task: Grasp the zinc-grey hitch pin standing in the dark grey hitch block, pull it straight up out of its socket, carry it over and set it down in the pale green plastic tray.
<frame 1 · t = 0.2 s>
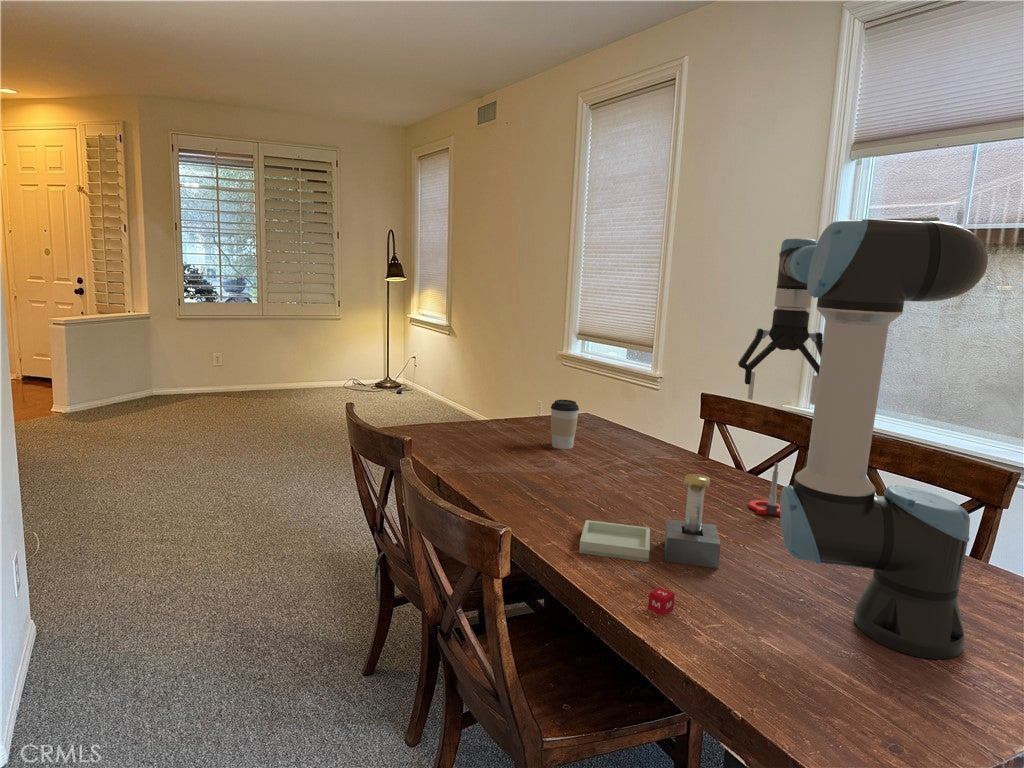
hand: (780, 401, 150), 28 cm above the table, fingers open, 13 cm apart
hitch block: (689, 554, 131), on the table
tray: (615, 545, 133), on the table
hitch pin: (693, 516, 129), in the hitch block
tow hook: (766, 510, 159), on the table
dice: (660, 610, 109), on the table
coffee cup: (562, 446, 208), on the table
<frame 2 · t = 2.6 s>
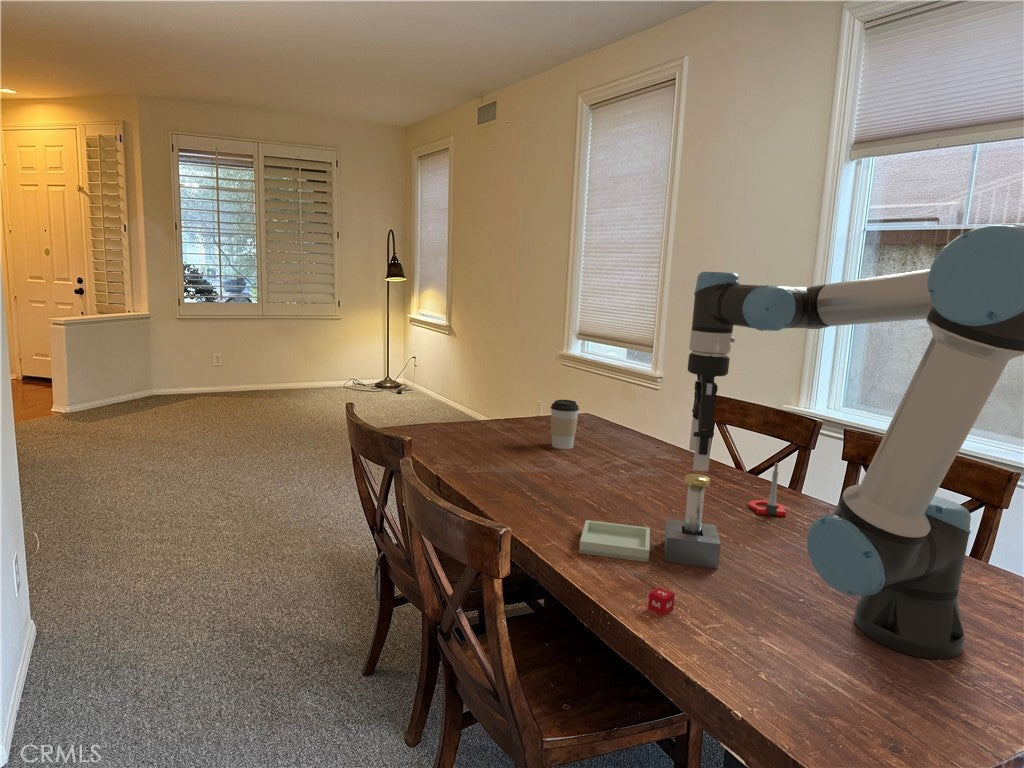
hand: (698, 460, 128), 20 cm above the table, fingers open, 13 cm apart
nothing on the table moved.
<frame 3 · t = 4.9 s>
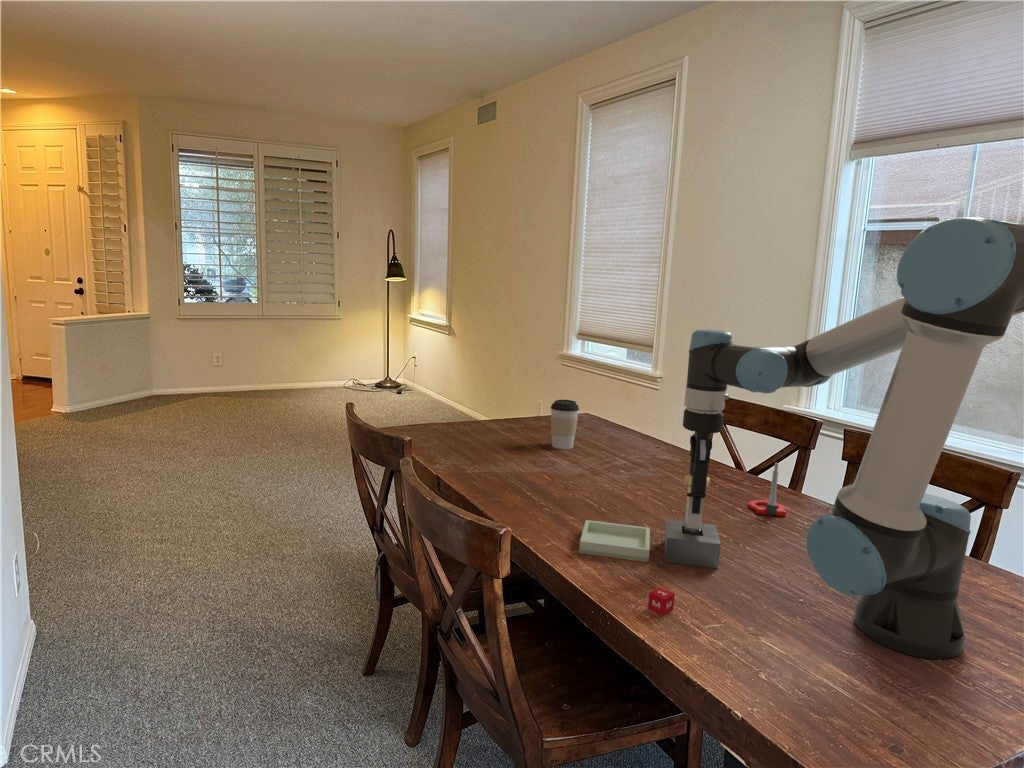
hand: (692, 523, 130), 7 cm above the table, fingers closed on hitch pin, 3 cm apart
hitch pin: (693, 516, 129), in the hitch block, touching gripper
everything else where it was.
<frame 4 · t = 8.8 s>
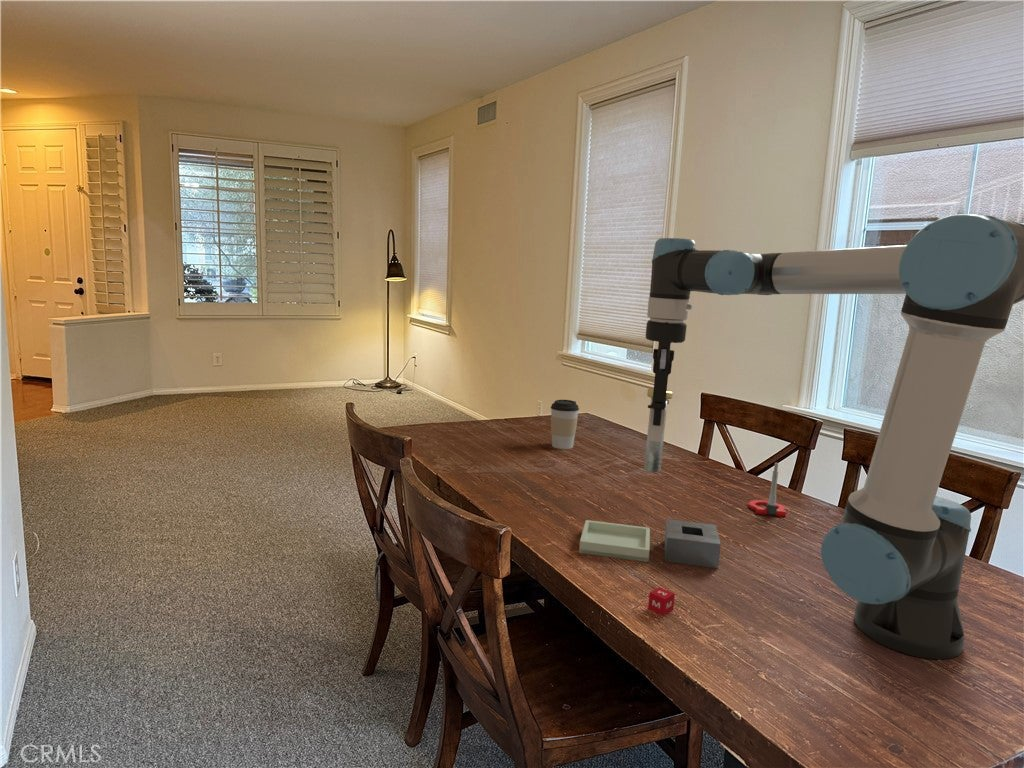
hand: (655, 437, 129), 23 cm above the table, fingers closed on hitch pin, 3 cm apart
hitch pin: (656, 430, 129), point 25 cm above the table, touching gripper
everything else where it was.
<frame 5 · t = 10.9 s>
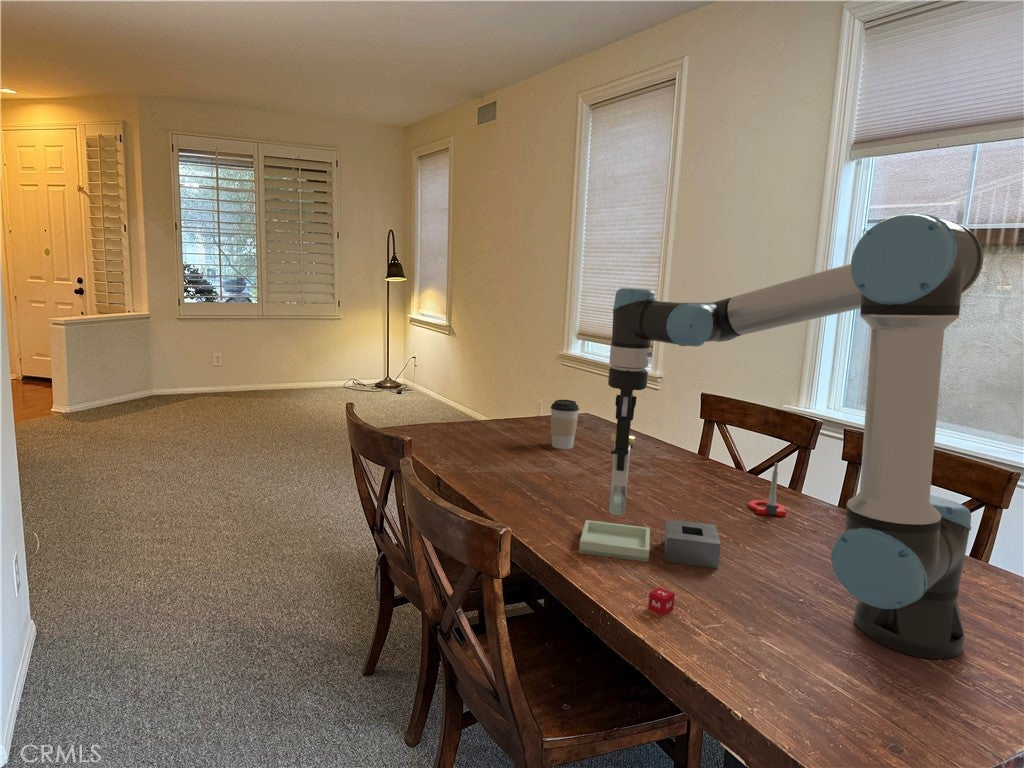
hand: (619, 481, 131), 14 cm above the table, fingers closed on hitch pin, 3 cm apart
hitch pin: (620, 474, 131), point 15 cm above the table, touching gripper
everything else where it was.
when the fingers open (8 cm above the table, at t = 12.6 s): hitch pin stays where it is, resting on tray.
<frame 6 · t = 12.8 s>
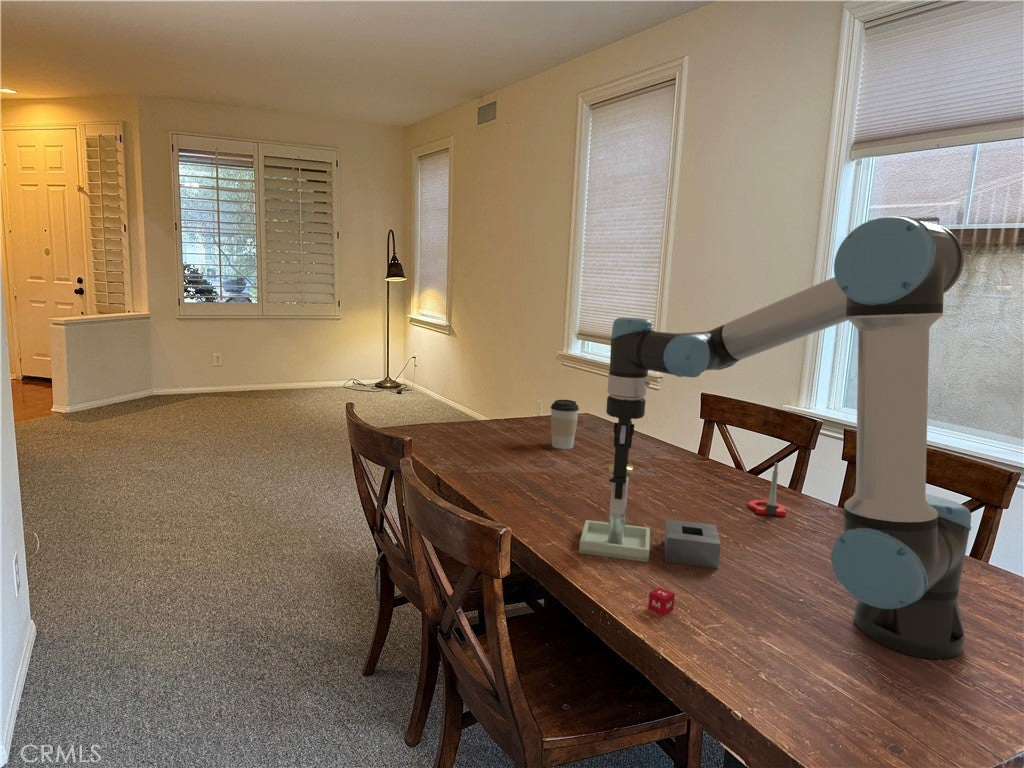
hand: (618, 507, 132), 8 cm above the table, fingers open, 6 cm apart
hitch pin: (618, 504, 132), in the tray, point 9 cm above the table
everything else where it was.
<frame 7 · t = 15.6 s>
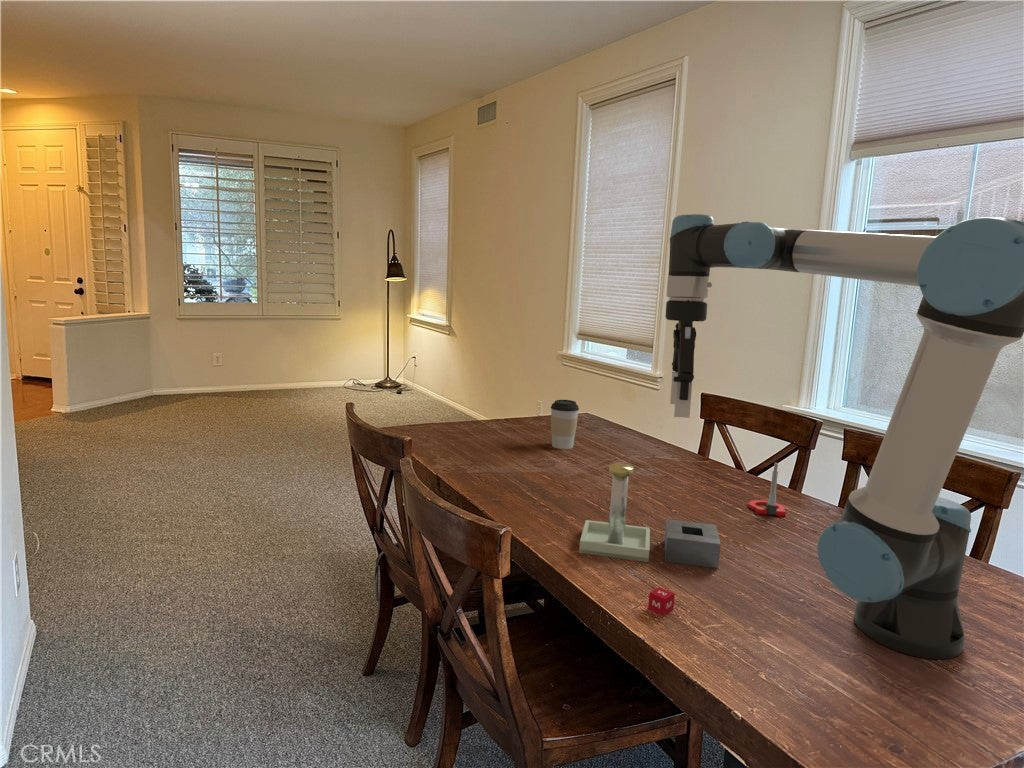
hand: (679, 410, 125), 30 cm above the table, fingers open, 13 cm apart
nothing on the table moved.
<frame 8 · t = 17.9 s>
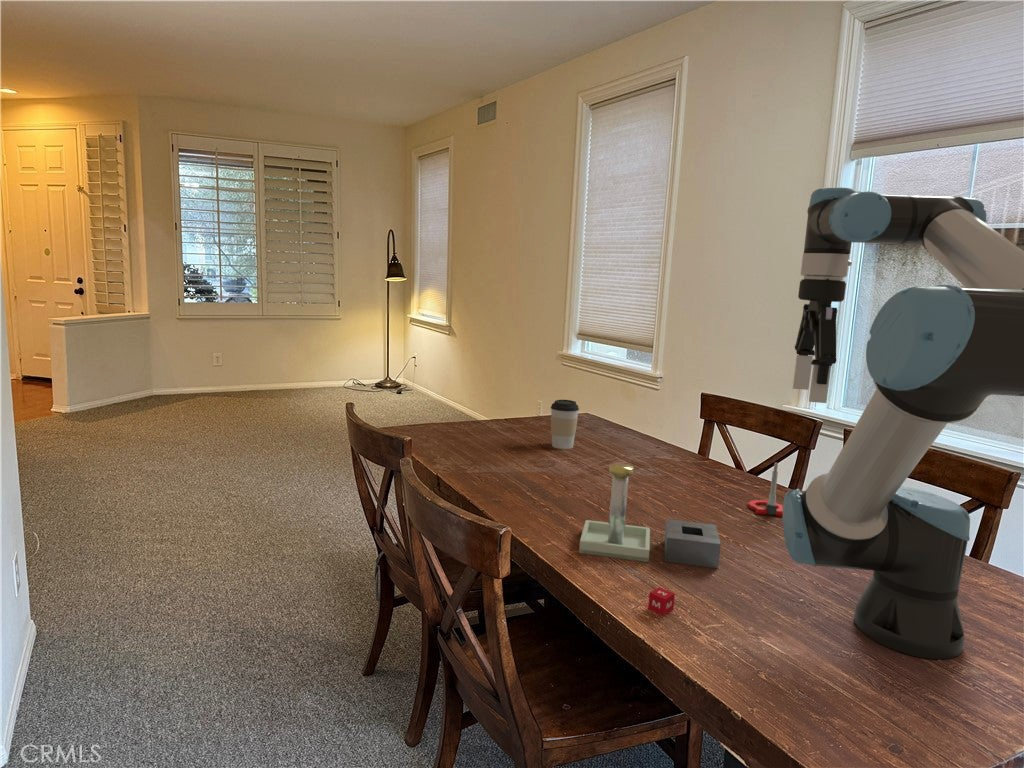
hand: (808, 395, 119), 35 cm above the table, fingers open, 13 cm apart
nothing on the table moved.
at the end: hitch pin inside the target area on the tray (0.0 cm from its centre), point 8.9 cm above the tray's base; hitch pin touching tray; the gripper is holding nothing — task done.
